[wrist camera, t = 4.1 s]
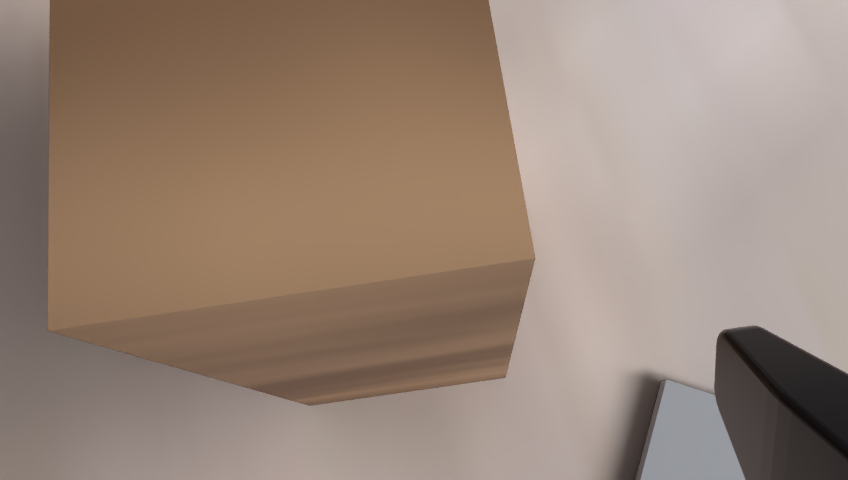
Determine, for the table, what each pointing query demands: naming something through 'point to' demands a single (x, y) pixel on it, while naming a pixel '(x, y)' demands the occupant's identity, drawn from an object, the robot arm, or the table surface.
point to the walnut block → (287, 191)
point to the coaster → (687, 438)
